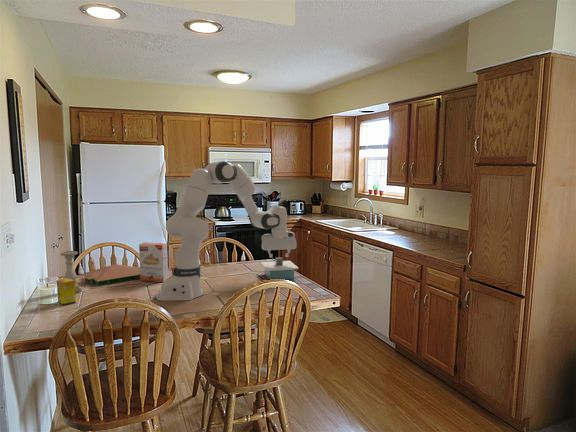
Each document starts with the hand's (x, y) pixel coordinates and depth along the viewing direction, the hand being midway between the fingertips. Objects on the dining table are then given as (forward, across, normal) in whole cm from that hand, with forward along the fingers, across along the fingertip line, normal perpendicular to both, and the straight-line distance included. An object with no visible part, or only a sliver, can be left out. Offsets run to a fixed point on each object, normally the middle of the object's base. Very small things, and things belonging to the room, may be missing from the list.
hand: (279, 257), depth 237 cm
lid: (+5, 0, 0) cm, 5 cm away
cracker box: (+12, -69, +9) cm, 71 cm away
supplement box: (+13, -107, -21) cm, 109 cm away
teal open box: (+11, 0, 0) cm, 11 cm away
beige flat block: (+13, -90, +20) cm, 93 cm away
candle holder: (+12, -109, -3) cm, 109 cm away
